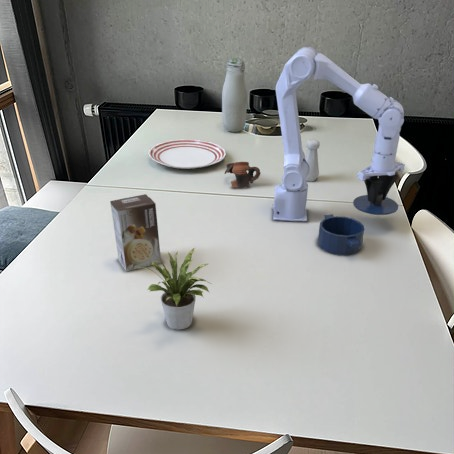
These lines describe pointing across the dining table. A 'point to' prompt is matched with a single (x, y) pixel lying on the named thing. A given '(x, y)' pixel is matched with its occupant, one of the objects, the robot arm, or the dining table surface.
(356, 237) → the pot
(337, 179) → the dining table surface
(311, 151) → the salt shaker
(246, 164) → the pottery mug
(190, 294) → the house plant
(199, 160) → the dinner plate
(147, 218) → the cracker box
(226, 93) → the glass bottle
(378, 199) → the lid
